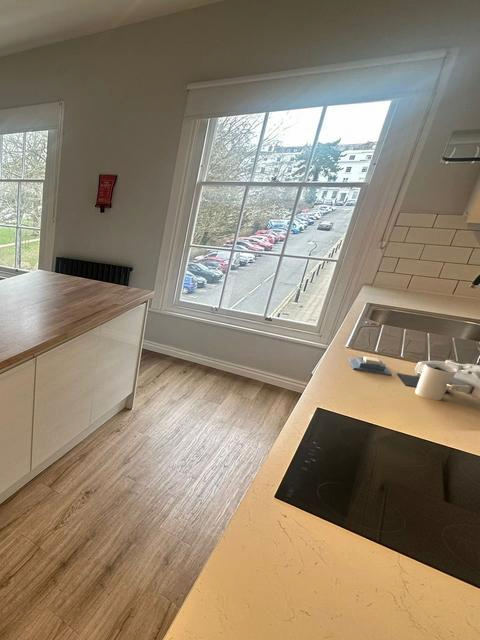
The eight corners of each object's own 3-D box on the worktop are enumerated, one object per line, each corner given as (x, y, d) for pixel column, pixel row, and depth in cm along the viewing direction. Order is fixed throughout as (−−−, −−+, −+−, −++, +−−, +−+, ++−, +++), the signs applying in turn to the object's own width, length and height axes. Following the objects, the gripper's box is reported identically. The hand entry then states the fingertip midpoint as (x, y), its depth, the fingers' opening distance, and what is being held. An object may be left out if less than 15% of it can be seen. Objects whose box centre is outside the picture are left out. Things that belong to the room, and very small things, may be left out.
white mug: (406, 390, 129) (418, 363, 126) (426, 390, 129) (439, 362, 126) (429, 401, 123) (442, 372, 119) (450, 400, 123) (464, 371, 120)
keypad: (383, 365, 146) (386, 359, 145) (391, 376, 139) (393, 370, 138) (347, 360, 152) (349, 354, 151) (353, 369, 144) (355, 363, 143)
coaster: (437, 381, 135) (438, 379, 134) (449, 393, 127) (450, 392, 127) (396, 374, 140) (397, 373, 140) (405, 386, 132) (406, 384, 132)
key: (376, 361, 145) (377, 358, 144) (378, 365, 142) (380, 361, 141) (362, 359, 147) (364, 356, 146) (365, 363, 144) (366, 359, 143)
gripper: (515, 406, 115) (467, 406, 115) (437, 374, 134) (396, 375, 135) (525, 386, 113) (477, 387, 113) (445, 357, 132) (403, 358, 132)
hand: (432, 380), depth 124 cm, fingers open, 7 cm apart
